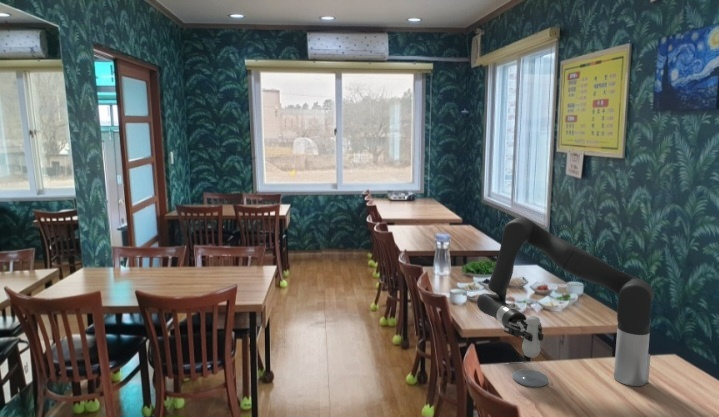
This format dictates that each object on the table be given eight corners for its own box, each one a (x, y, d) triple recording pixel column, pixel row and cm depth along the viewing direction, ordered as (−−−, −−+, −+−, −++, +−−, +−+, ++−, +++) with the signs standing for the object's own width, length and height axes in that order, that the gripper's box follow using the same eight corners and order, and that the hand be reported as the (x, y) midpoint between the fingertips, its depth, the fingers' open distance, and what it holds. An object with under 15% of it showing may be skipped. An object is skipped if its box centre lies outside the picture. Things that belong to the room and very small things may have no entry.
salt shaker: (541, 359, 160) (543, 321, 158) (522, 358, 161) (524, 319, 159) (538, 352, 166) (541, 314, 164) (520, 350, 167) (522, 313, 165)
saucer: (536, 370, 171) (537, 368, 171) (554, 386, 160) (555, 383, 160) (506, 373, 169) (507, 370, 169) (523, 389, 158) (523, 386, 158)
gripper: (493, 309, 175) (517, 328, 158) (530, 307, 177) (557, 325, 160) (492, 330, 176) (515, 351, 159) (529, 327, 178) (556, 348, 161)
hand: (536, 338), depth 160 cm, fingers closed on salt shaker, 3 cm apart
